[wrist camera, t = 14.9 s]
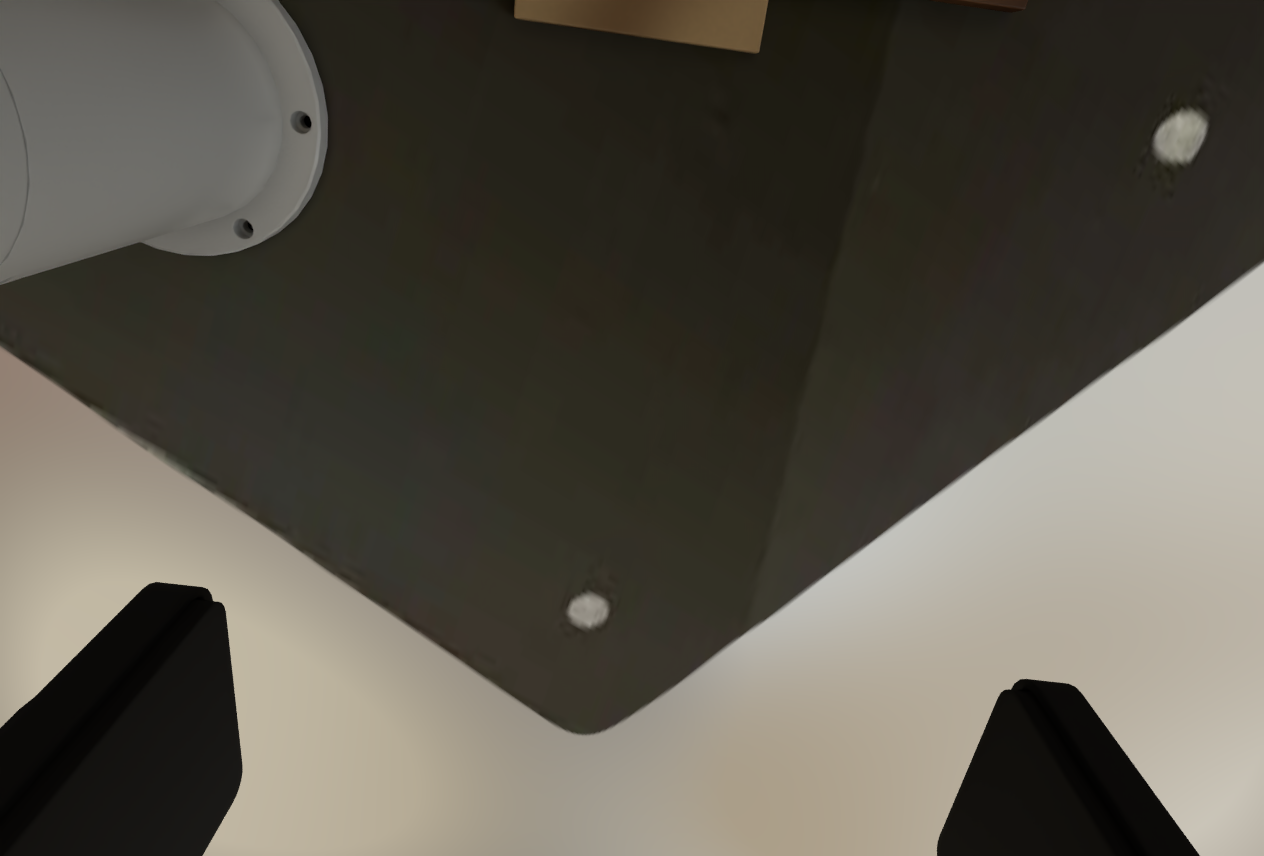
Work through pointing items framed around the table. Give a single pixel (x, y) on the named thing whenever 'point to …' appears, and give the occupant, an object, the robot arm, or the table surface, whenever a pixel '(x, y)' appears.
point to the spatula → (682, 18)
